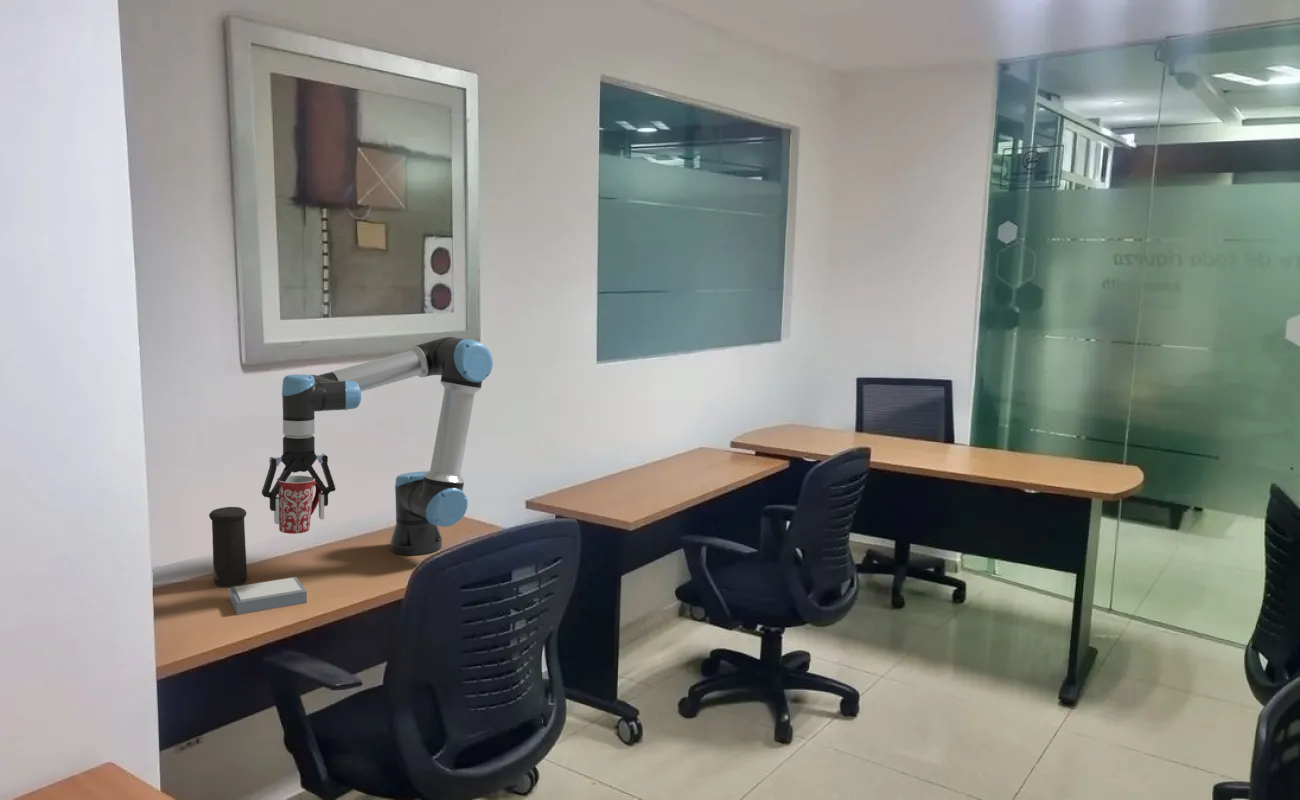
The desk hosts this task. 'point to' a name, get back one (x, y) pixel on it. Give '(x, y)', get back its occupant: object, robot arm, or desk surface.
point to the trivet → (267, 595)
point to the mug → (297, 503)
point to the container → (229, 546)
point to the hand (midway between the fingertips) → (299, 520)
